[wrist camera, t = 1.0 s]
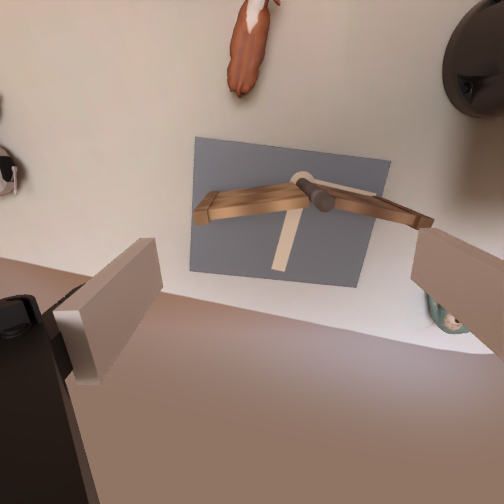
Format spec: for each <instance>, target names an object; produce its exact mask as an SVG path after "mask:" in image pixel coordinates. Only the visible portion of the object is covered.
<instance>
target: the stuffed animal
mask: <svg viewBox="0 0 504 504" xmlns="http://www.w3.org/2000/svg"><path fill="white" fill-rule="evenodd" d="M428 298H429V304H430V312H431V315H432V317H433V319H434V322H435V323H436V324H437V326H438V327H439V328H440V329H441V330H443V331H444V332H446V333H448V334H462V333H468V332H469V330H468V329H467V328H466V327H464V326H463V325H462V324H461V323H460V322H459V321H458V320H457V319H455V318H454V317H453V316H452V315H451V314H450V313H449V312H448V311H446V310H445V309H444V308H443V307H442V306H441V305H440V304H439V303H437V302H436V301H435V300H434V299H433V298H432V297H431V296H430V295H429V296H428Z"/></svg>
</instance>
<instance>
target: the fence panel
mask: <svg viewBox="0 0 504 504" xmlns="http://www.w3.org/2000/svg"><path fill="white" fill-rule="evenodd" d="M307 207H309V197H308V196H307V195H306V194H305V193H304V192H303V191H302V190H301V189H300V188H299V187H297V186H296V185H295V184H294V183H293V182H288V183H281V184H273V185H266V186H258V187H251V188H243V189H236V190H228V191H221V192H219V191H211V192H208V193H207V195H206V196H205V197H204V198H203V200H202V201H201V202H200V203H199V205H198V206H197V207H196V208H195V209H194V211H193V212H192V213H193V218H194V223H195V226H198V225H206V224H209V223H210V221H211V220H215V219H222V218H230V217H238V216H246V215H253V214H261V213H269V212H276V211H284V210H292V209H300V208H307Z"/></svg>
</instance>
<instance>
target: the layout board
mask: <svg viewBox="0 0 504 504" xmlns="http://www.w3.org/2000/svg"><path fill="white" fill-rule="evenodd" d="M390 164H391V161H386V160H378V159H370V158H362V157H354V156H346V155H337V154H329V153H321V152H313V151H305V150H297V149H289V148H281V147H273V146H265V145H257V144H249V143H240V142H232V141H224V140H216V139H208V138H200V137H195V153H194V177H193V201H192V212H193V211H194V209H195V208H196V207H197V206H198V205H199V203H200V202H201V201H202V200H203V198H204V197H205V196H206V195H207V193H208V192H211V191H219V192H221V191H228V190H236V189H243V188H251V187H258V186H266V185H273V184H281V183H288V182H293V183H294V184H295V185H296V182H297V180H298V179H300V178H305V179H307V180H308V181H310V182H311V183H316V184H320V185H325V186H329V187H333V188H338V189H342V190H346V191H350V192H355V193H359V194H363V195H368V196H373V195H374V196H378V197H381V196H382V193H383V189H384V185H385V182H386V178H387V175H388V171H389V167H390ZM375 218H376V217H371V216H367V215H362V214H358V213H354V212H349V211H345V210H340V209H336V208H333V209H332V210H331V211H329V212H321V211H320V210H318V209H317V208H316V207H315V206H314V205H313V204H312V203H311V202H310V201H309V207H307V208H300V209H292V210H284V211H276V212H269V213H261V214H253V215H246V216H238V217H230V218H222V219H215V220H211V221H210V223H209V224H206V225H198V226H195V223H194V218H193V213H192V225H191V249H190V271H194V272H204V273H214V274H224V275H234V276H244V277H254V278H264V279H274V280H284V281H294V282H304V283H314V284H324V285H334V286H343V287H353V288H356V287H357V283H358V279H359V276H360V272H361V269H362V265H363V261H364V258H365V254H366V251H367V247H368V243H369V240H370V236H371V232H372V229H373V225H374V222H375Z"/></svg>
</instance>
